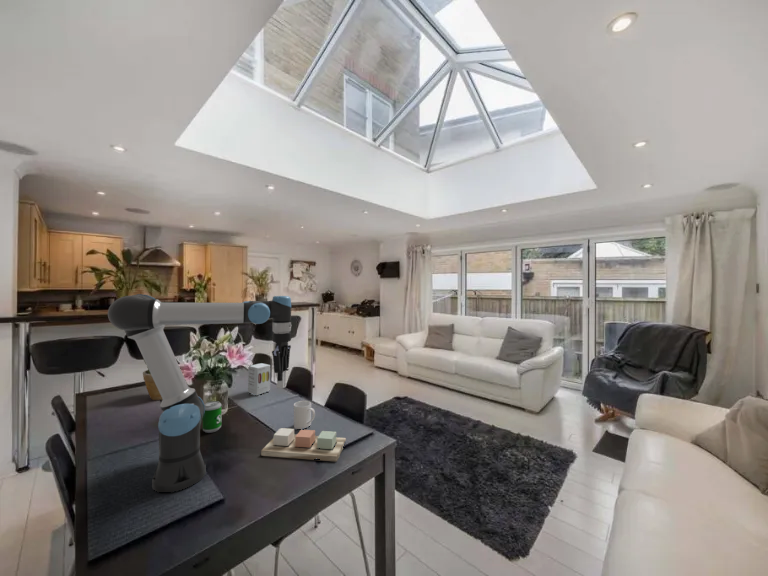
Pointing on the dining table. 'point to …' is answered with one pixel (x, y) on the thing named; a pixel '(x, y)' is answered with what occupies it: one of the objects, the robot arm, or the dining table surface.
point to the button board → (304, 451)
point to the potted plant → (151, 385)
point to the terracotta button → (305, 438)
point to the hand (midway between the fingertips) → (281, 387)
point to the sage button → (326, 440)
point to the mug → (303, 414)
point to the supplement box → (258, 378)
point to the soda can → (212, 416)
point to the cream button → (283, 436)
